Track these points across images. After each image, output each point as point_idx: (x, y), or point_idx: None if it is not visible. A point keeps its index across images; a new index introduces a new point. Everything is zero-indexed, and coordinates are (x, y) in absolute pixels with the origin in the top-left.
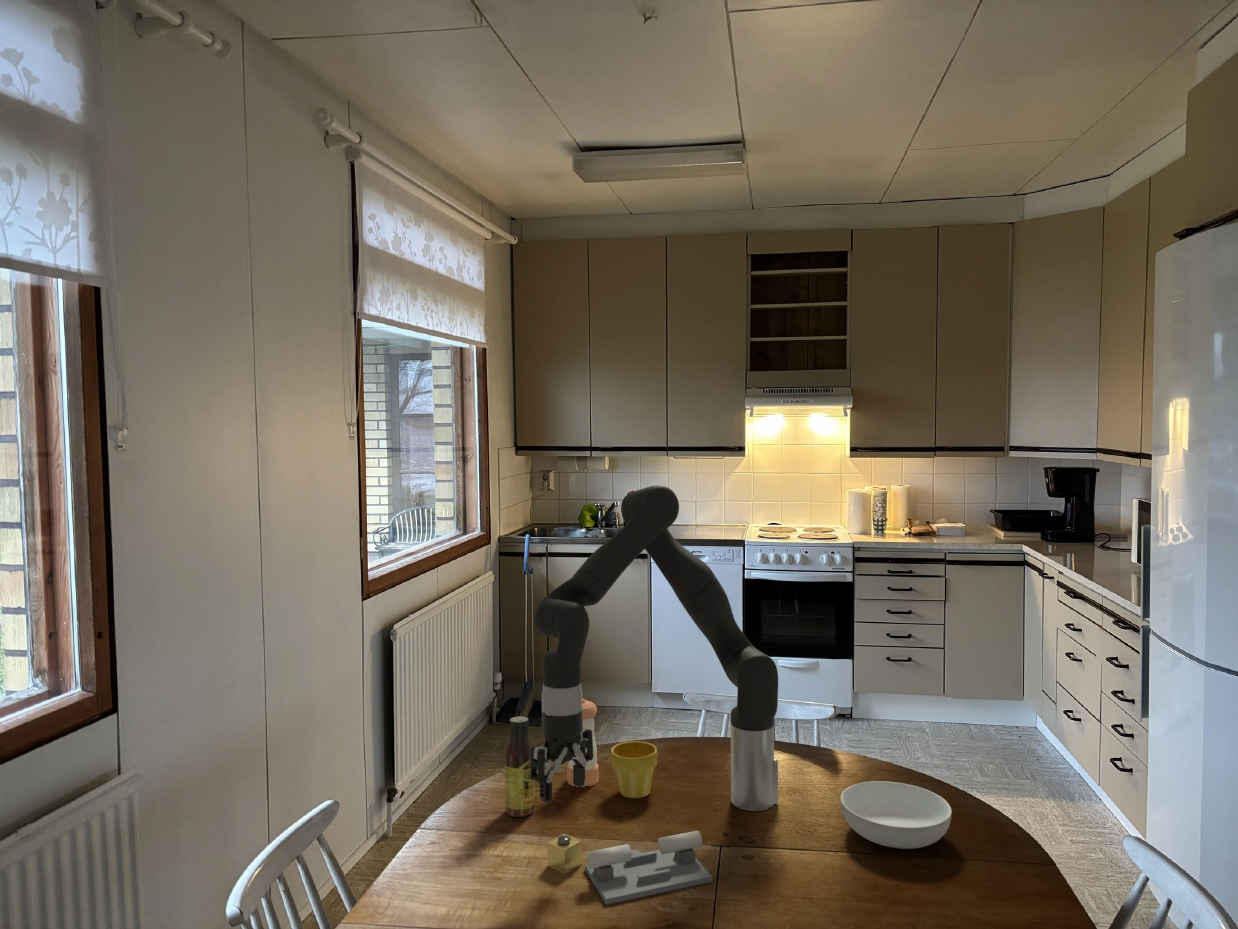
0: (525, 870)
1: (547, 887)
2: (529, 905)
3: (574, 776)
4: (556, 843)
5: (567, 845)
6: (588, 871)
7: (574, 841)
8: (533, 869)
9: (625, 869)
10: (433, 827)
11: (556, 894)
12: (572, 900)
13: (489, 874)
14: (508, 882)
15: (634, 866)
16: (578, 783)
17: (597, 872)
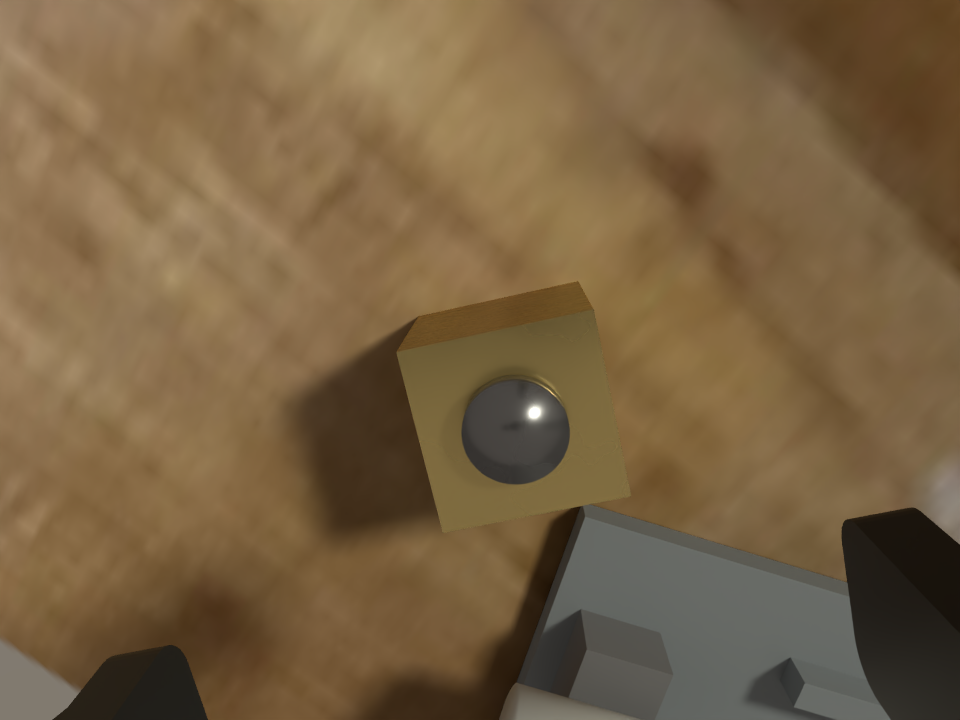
0: (271, 271)
1: (293, 517)
2: (126, 599)
3: (909, 611)
4: (447, 410)
5: (499, 489)
6: (561, 577)
7: (581, 470)
8: (320, 294)
9: (743, 710)
10: None
11: (301, 604)
12: (344, 698)
13: (48, 163)
14: (118, 327)
15: (809, 717)
16: (873, 639)
17: (557, 694)
